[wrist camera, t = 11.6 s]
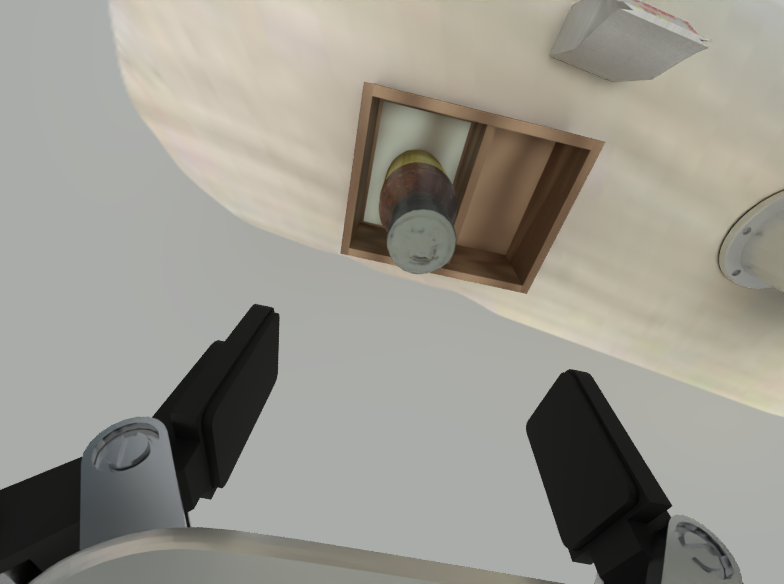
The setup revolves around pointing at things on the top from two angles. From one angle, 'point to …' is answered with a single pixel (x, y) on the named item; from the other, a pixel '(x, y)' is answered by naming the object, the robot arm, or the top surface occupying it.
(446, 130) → the crate
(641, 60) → the printed food box
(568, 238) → the top surface
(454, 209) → the sauce bottle
